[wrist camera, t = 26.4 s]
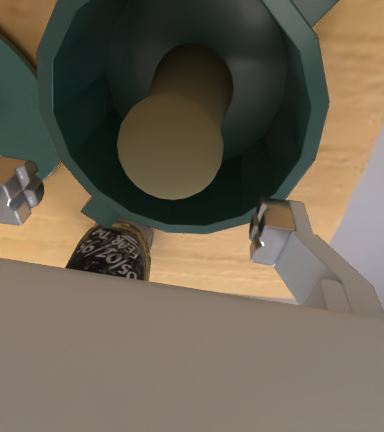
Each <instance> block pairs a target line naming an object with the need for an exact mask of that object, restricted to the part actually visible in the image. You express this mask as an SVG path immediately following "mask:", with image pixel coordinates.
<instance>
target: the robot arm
mask: <svg viewBox="0 0 384 432" xmlns="http://www.w3.org/2000/svg"><path fill="white" fill-rule="evenodd" d="M38 172H39V170H38V167H37V165H36V163H35V162H33V161H31V160H25V159H20V158H14V157H8V156H2V155H0V223H4V224H11V225H19V226H22V224H23V223H24V222H25V221H26V219H27V218H28V217H29V216H30V214H31V208H33V207H35V206H37V205H38V204H39V203H40V202H41V200H42V198H43V195H44V186H43V182H42V181H41V180H40V179H39V178H38V177H37V176H36V175H37V174H38ZM256 209H257V212H255V213H254V214H253V216H252V219H251V222H250V228H249V239H250V240H251V241H252V243H251V246H250V258H251V262H254V263H259V264H265V265H270V266H274V268H275V270H276V271H277V273H278V274H279V275H280V277H281V278H282V280H283V281H284V283H285V284H286V286H287V287H288V289H289V290H290V291H291V293H292V294H293V296H294V297H295V299H296V300H297V302H298V303H299V305H293V304H288V303H281V302H275V301H269V300H262V299H256V298H250V297H243V296H237V295H231V294H224V293H218V292H212V291H206V290H199V289H193V288H187V287H180V286H174V285H168V284H162V283H155V282H149V281H143V280H136V279H130V278H124V277H117V276H111V275H105V274H99V273H92V272H86V271H80V270H73V269H67V268H61V267H54V266H48V265H42V264H35V263H29V262H23V261H16V260H10V259H4V258H0V432H384V311H383V308H382V306H381V304H380V301H379V299H378V297H377V294H376V292H375V290H374V287H373V285H371V283H369V282H368V281H367V280H366V279H365V278H364V277H363V276H362V275H361V274H360V273H358V271H356V270H355V269H354V268H353V267H352V266H351V265H350V264H349V263H348V262H346V261H345V260H344V259H343V258H342V257H341V256H340V255H339V254H338V253H337V252H336V251H334V250H333V249H332V248H331V247H330V246H329V245H328V244H327V243H326V242H325V241H324V240H322V239H321V238H320V237H319V236H318V235H315V234H313V232H312V229H311V225H310V222H309V219H308V215H307V212H306V209H305V205H304V203H303V202H300V201H292V200H281V199H275V198H268V197H261V196H260V197H259V199H258V201H257V204H256Z"/></svg>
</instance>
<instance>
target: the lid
mask: <svg viewBox="0 0 384 432" xmlns="http://www.w3.org/2000/svg"><path fill="white" fill-rule="evenodd" d="M0 155H2V156H8V157H14V158H20V159H25V160H31V161H33V162H35V163H36V165H37V167H38V170H39V172H38V174H37V175H36V176H37V177H38V178H39V179H40V180H41V181H43V180H45V179H46V178H47V177H48V176H50V174H51V173H52V172H53V171H54V170H55V168H56V167H57V165H58V163H59V161H60V159H59V157H58V155H57V152H56V150H55V148H54V145H53V143H52V140H51V138H50V136H49V133H48V131H47V129H46V126H45V124H44V121H43V119H42V117H41V114H40V112H39V104H38V79H37V72H36V70H35V69H34V68H33V66H32V65H31V64H30V63H29V61H28V60H27V59H26V58H25V56H24V55H23V54H22V53H21V52H20V51H19V50H18V49H17V48H16V47H15V46H14V45H13V44H12V43H11V42H10V41H9V40H8V39H6V38H5V37H4V36H3V35H2V34H1V33H0Z"/></svg>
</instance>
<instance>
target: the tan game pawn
mask: <svg viewBox="0 0 384 432" xmlns="http://www.w3.org/2000/svg"><path fill="white" fill-rule="evenodd" d="M233 88H234V86H233V80H232V74H231V72H230V69H229V67H228V65H227V63H226V61H225V60H224V59H223V58H222V57H221V56H220V55H219V54H218V53H217V52H216V51H215V50H213V49H211V48H209V47H207V46H205V45H202V44H192V43H187V44H184V45H180V46H176V47H174V48H173V49H172V50H170V51H169V52H168V53H166V54H165V55H164V56H163V57H162V59H161V60H160V62H159V63H158V65H157V67H156V70H155V73H154V77H153V80H152V83H151V87H150V90H149V94H148V97H146V98H145V99H143V100H142V101H140V102H139V103H137V104H136V105H134V106H133V107H132V109H131V110H130V111H129V113H128V114H127V116H126V117H125V119H124V120H123V122H122V123H121V127H120V131H119V136H118V141H117V148H118V156H119V160H120V162H121V164H122V166H123V169H124V171H125V173H126V175H127V176H128V177H129V178H130V180H131V181H132V182H133V183H134V184H135V185H136V186H137V187H138V188H140V189H141V190H143V191H144V192H146V193H147V194H150V195H153V196H155V197H158V198H162V199H170V200H175V199H183V198H187V197H189V196H192V195H194V194H196V193H198V192H201V191H202V190H203V189H204V188H205V187H207V186H208V185H209V184H210V183H211V182H212V180H213V179H214V177H215V175H216V173H217V172H218V170H219V168H220V166H221V162H222V156H223V145H224V144H223V139H222V134H221V129H220V126H221V124H222V122H223V119H224V117H225V115H226V112H227V110H228V108H229V106H230V103H231V101H232V95H233Z"/></svg>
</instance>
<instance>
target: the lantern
mask: <svg viewBox="0 0 384 432" xmlns="http://www.w3.org/2000/svg"><path fill="white" fill-rule="evenodd" d="M152 235H153V231H152V229H151V228H149V227H148V226H146V225H142V224H139V223H136V222H133V221H130V220H128V219H126V218H124V217H123V216H121V217H120V218H119V219H118V220H117V221H116V222H115V223H114V224H113V225H112V226H111V227H110V228H109V229H107V228H105V227H104V226H102V225H101V224H99V223H97V222H96V224H95V226H94V227H92V228H90V229H89V230H88V231H87V232H86V234H85V235H84V236H83V237H82V239H81V240H80V242H79V243H78V245H77V247H76V249H75V251H74V252H73V254H72V256H71V258H70V260H69V262H68V264H67V265H66V267H65V268H67V269H73V270H80V271H86V272H92V273H99V274H105V275H111V276H117V277H124V278H130V279H136V280H143V281H149V276H150V265H151V257H150V249H151V246H152Z"/></svg>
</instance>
